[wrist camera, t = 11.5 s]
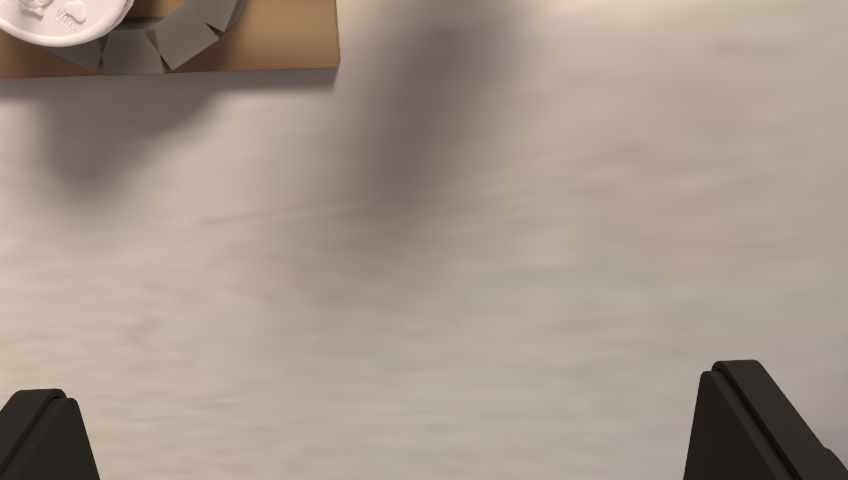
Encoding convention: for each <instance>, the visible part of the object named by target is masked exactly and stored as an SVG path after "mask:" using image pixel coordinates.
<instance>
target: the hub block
mask: <svg viewBox="0 0 848 480" xmlns="http://www.w3.org/2000/svg"><path fill="white" fill-rule="evenodd" d="M339 64H340V48H339V35H338V21H337V8H336V0H134V2H133V5H132V6H131V8H130V9H129V11H128V12H127V14H126V15H125V17H124V18H123V20H122V21H121V23H120V24H118V25H117V26H116V27H114V28H113V29H112V30H111V31H109V32H108V33H107V34H105V35H104V36H102V37H99V38H96V39H94V40H91V41H88V42H86V43H81V44H77V45H73V46H65V47H50V46H43V45H37V44H33V43H30V42H27V41H24V40H21V39H19V38H17V37H15V36H12V35H11V34H9V33H7V32H5V31H3V30H2V29H0V79H7V78H36V77H65V76H94V75H134V74H163V73H181V72H210V71H239V70H268V69H297V68H326V67H339Z"/></svg>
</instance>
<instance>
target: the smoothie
mask: <svg viewBox="0 0 848 480" xmlns="http://www.w3.org/2000/svg"><path fill="white" fill-rule="evenodd" d="M133 2H134V0H0V29H2V30H3V31H5V32H7V33H9V34H11V35H12V36H15V37H17V38H19V39H21V40H24V41H27V42H30V43H33V44H37V45H43V46H50V47H65V46H73V45H77V44H81V43H86V42H88V41H91V40H94V39H96V38H99V37H102V36H104V35H105V34H107V33H108V32H109V31H111V30H112V29H113V28H114V27H116V26H117V25H118V24H120V23H121V21H122V20H123V18H124V17H125V15H126V14H127V12H128V11H129V9H130V8H131V6H132V5H133Z"/></svg>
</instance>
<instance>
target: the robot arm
mask: <svg viewBox="0 0 848 480" xmlns="http://www.w3.org/2000/svg"><path fill="white" fill-rule="evenodd" d="M0 480H100V478H99V474H98V471H97V467H96V464H95V460H94V457H93V453H92V450H91V447H90V443H89V440H88V436H87V433H86V429H85V426H84V422H83V419H82V416H81V412H80V409H79V406H78V403H77V401H76V400H75V399H74V398H67V397H66V395H65V393H64V392H63V391H62V390H61V389H35V390H20V391H17V392H16V393H15V394H14V395H13V396H12V397H11V398H10V399H9V401H8V402H7V403H6V405H5V406H4V407H3V408H2V410H1V411H0ZM683 480H848V470H847V469H846V468H845V466H844V465H843V464H842V462H841V461H840V460H839V458H838V457H837V456H836V455H835V454H834V453H833V452H832V451H831V450H829V449H827V448H825V447H824V446H823V445H822V444H821V442H820V441H819V440H818V438H817V437H816V436H815V434H814V433H813V432H812V431H811V429H810V428H809V427H808V425H807V424H806V423H805V421H804V420H803V419H802V417H801V416H800V415H799V413H798V412H797V411H796V409H795V408H794V407H793V405H792V404H791V403H790V402H789V400H788V399H787V398H786V396H785V395H784V394H783V392H782V391H781V390H780V388H779V387H778V386H777V384H776V383H775V382H774V380H773V379H772V378H771V376H770V375H769V374H768V373H767V371H766V370H765V369H764V367H763V366H762V365H761V364H760V363H759V362H758V361H756V360H731V361H717V362H715V363H714V365H713V366H712V370H711V371H705V372H703V373H702V375H701V378H700V383H699V389H698V395H697V401H696V406H695V412H694V418H693V424H692V430H691V436H690V442H689V448H688V454H687V460H686V466H685V472H684V478H683Z"/></svg>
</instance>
